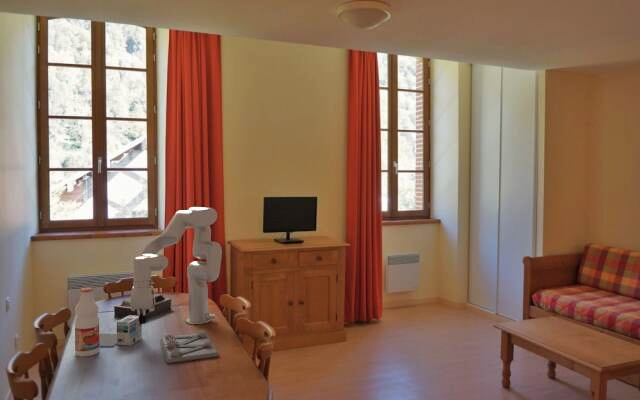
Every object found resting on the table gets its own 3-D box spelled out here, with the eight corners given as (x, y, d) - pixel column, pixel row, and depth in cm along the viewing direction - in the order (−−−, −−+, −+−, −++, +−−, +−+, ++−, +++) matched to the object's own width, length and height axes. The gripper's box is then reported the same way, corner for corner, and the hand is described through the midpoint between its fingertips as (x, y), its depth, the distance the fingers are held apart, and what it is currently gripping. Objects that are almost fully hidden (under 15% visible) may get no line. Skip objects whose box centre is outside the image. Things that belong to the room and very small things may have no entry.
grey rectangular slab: (219, 358, 204) (219, 342, 204) (166, 366, 195) (166, 348, 195) (206, 336, 231) (206, 322, 231) (159, 342, 223) (159, 327, 223)
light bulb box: (129, 346, 216) (129, 322, 216) (116, 345, 217) (115, 321, 217) (142, 338, 227) (142, 315, 226) (129, 337, 228) (129, 314, 227)
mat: (129, 335, 230) (129, 334, 230) (112, 347, 214) (112, 346, 214) (100, 334, 231) (100, 333, 231) (82, 346, 215) (82, 345, 215)
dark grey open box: (177, 311, 273) (177, 294, 272) (136, 323, 250) (136, 304, 249) (149, 305, 285) (149, 288, 285) (108, 316, 262) (108, 298, 262)
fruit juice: (86, 348, 213) (86, 285, 212) (104, 350, 210) (103, 287, 209) (70, 355, 204) (68, 290, 203) (88, 358, 201) (87, 291, 200)
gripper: (161, 282, 224) (161, 321, 225) (130, 281, 224) (130, 320, 225) (155, 286, 216) (155, 326, 217) (122, 285, 217) (123, 325, 218)
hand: (142, 323), depth 221 cm, fingers closed
